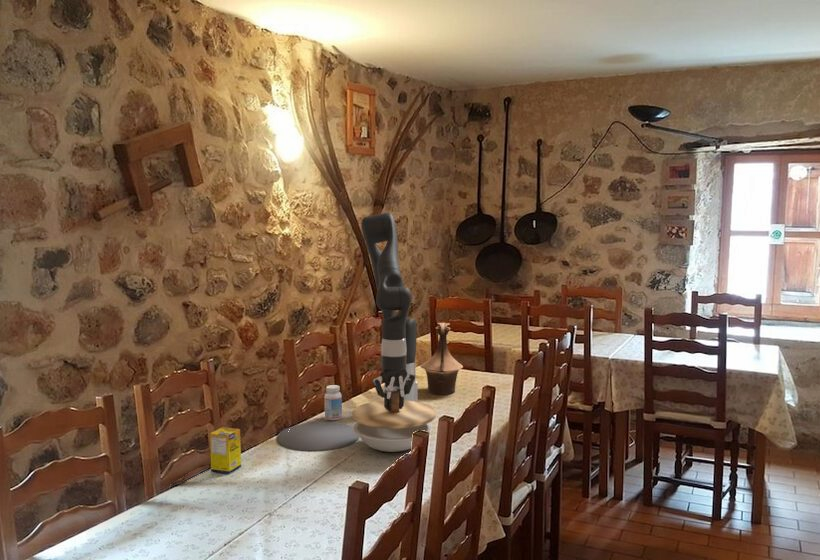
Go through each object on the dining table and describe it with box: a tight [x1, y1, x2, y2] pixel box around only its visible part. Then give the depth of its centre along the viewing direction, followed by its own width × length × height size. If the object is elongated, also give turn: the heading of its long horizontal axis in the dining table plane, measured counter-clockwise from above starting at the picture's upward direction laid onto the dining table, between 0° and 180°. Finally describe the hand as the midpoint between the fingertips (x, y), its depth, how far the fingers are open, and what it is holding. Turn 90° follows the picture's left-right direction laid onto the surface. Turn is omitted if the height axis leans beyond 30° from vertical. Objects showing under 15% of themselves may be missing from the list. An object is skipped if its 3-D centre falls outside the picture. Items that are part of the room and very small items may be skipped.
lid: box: [352, 391, 437, 429], centre depth 199 cm, size 25×25×7 cm
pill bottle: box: [323, 384, 343, 421], centre depth 229 cm, size 6×6×11 cm
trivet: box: [276, 421, 360, 452], centre depth 210 cm, size 26×26×1 cm
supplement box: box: [209, 426, 242, 475], centre depth 183 cm, size 6×6×11 cm
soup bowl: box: [352, 422, 433, 453], centre depth 200 cm, size 24×24×7 cm
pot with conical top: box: [420, 322, 464, 395], centre depth 263 cm, size 18×17×28 cm
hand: (393, 409), depth 199 cm, fingers closed on lid, 3 cm apart
